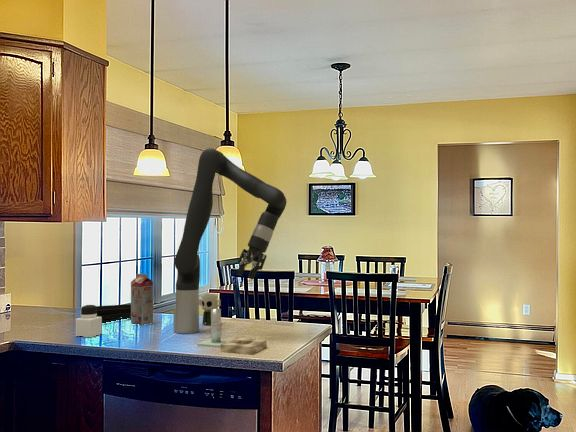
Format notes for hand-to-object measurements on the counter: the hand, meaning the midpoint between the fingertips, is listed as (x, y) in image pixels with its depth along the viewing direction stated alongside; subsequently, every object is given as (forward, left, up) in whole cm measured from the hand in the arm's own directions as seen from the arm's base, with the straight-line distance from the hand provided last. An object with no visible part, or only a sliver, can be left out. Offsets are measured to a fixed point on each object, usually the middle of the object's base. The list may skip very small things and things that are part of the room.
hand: (244, 276), depth 222 cm
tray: (-78, +18, -24) cm, 84 cm away
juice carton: (-56, +12, -24) cm, 62 cm away
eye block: (+8, -17, -23) cm, 30 cm away
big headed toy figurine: (-28, +22, -24) cm, 42 cm away
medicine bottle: (-60, -17, -24) cm, 67 cm away
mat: (-6, -12, -23) cm, 27 cm away
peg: (-6, -12, -23) cm, 27 cm away
